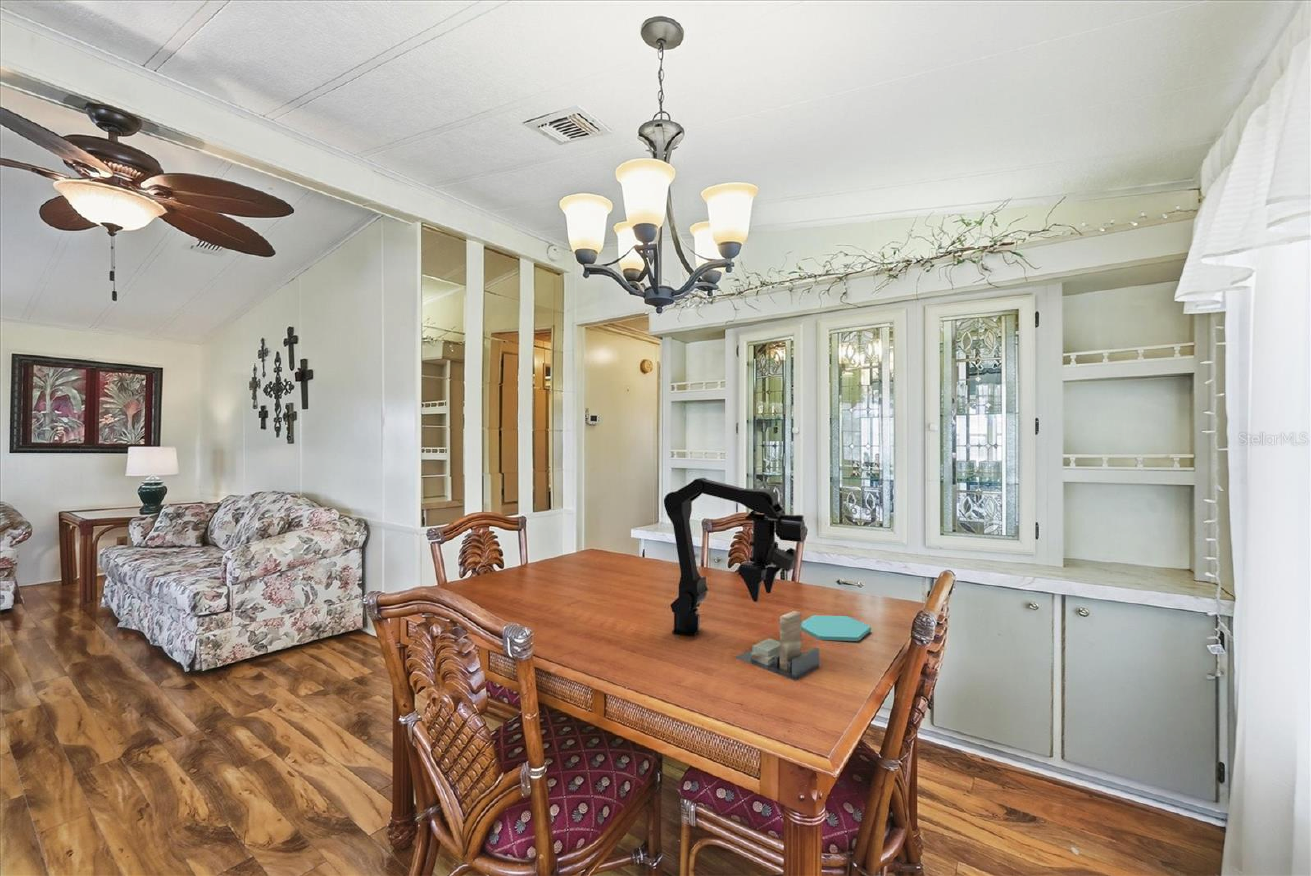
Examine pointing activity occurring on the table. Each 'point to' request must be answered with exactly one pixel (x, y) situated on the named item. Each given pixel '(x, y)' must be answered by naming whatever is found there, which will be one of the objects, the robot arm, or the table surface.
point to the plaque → (835, 628)
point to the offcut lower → (763, 658)
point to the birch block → (790, 637)
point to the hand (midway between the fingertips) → (762, 597)
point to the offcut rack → (789, 664)
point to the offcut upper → (767, 647)
